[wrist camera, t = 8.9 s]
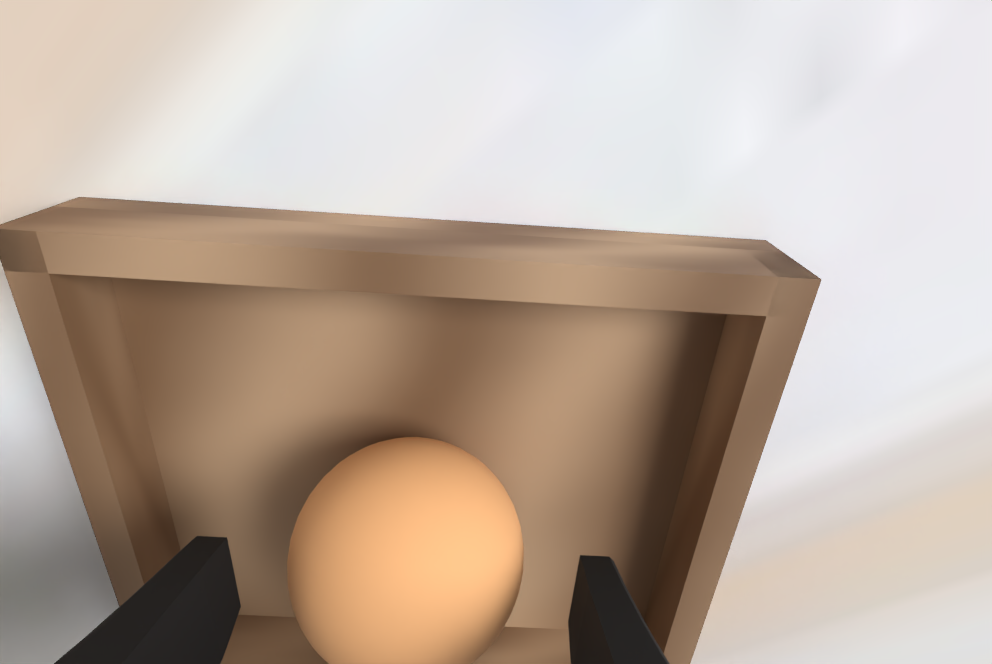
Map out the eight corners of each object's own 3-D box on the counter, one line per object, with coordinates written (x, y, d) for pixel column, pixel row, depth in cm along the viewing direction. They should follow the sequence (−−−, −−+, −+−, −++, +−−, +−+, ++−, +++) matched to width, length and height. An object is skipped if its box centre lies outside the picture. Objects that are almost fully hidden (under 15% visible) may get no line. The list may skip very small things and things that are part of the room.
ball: (527, 399, 14) (544, 572, 9) (511, 551, 16) (519, 748, 11) (317, 389, 13) (227, 558, 9) (330, 543, 16) (265, 741, 11)
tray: (765, 240, 13) (821, 279, 10) (655, 627, 18) (676, 704, 16) (78, 196, 12) (-11, 228, 10) (187, 606, 18) (145, 681, 16)
